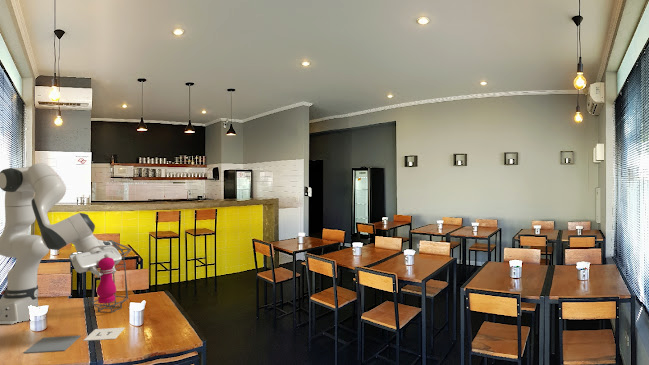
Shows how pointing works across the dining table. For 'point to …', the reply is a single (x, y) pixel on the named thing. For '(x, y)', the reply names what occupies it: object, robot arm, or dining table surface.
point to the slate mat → (52, 344)
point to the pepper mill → (106, 281)
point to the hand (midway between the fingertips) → (107, 274)
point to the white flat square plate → (104, 334)
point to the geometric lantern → (114, 281)
